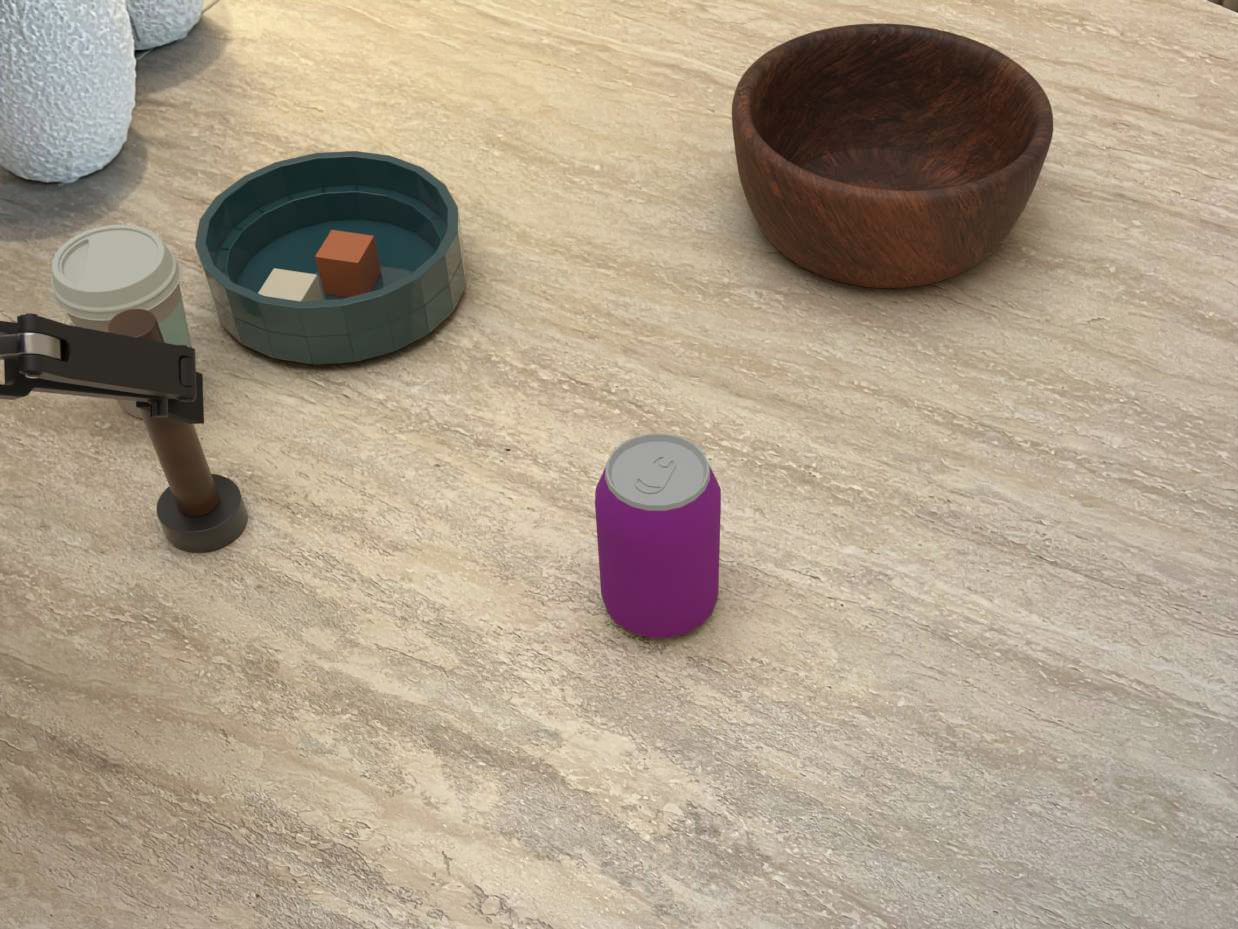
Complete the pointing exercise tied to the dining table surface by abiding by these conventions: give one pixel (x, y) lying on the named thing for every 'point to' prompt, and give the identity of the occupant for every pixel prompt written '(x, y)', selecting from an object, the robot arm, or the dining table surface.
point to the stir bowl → (293, 234)
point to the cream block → (292, 286)
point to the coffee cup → (120, 282)
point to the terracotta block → (348, 264)
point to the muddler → (186, 469)
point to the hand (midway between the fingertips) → (78, 402)
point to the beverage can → (658, 535)
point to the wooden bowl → (888, 151)
